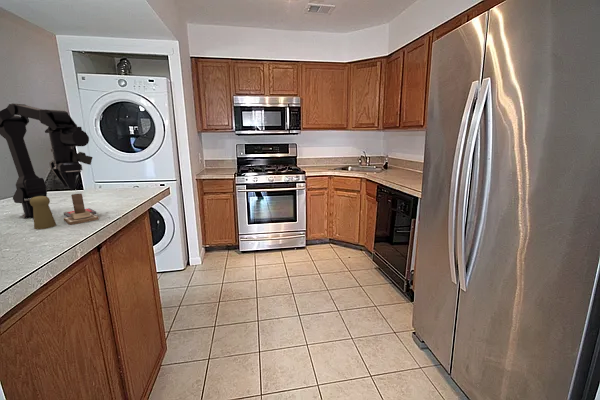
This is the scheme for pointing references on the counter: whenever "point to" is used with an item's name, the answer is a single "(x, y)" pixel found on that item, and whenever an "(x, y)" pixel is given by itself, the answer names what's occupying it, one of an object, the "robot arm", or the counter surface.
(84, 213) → the wooden stamp
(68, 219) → the stamp board
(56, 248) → the counter surface
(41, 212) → the cork
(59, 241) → the counter surface
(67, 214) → the ink pad
